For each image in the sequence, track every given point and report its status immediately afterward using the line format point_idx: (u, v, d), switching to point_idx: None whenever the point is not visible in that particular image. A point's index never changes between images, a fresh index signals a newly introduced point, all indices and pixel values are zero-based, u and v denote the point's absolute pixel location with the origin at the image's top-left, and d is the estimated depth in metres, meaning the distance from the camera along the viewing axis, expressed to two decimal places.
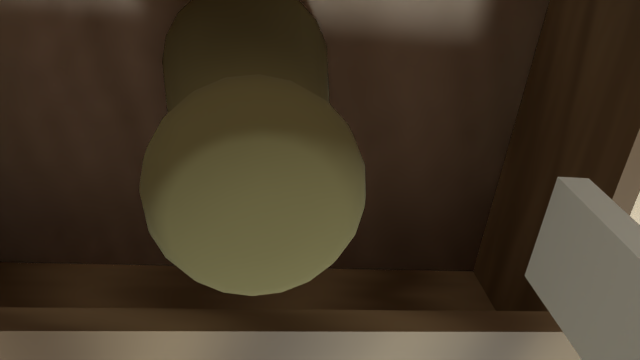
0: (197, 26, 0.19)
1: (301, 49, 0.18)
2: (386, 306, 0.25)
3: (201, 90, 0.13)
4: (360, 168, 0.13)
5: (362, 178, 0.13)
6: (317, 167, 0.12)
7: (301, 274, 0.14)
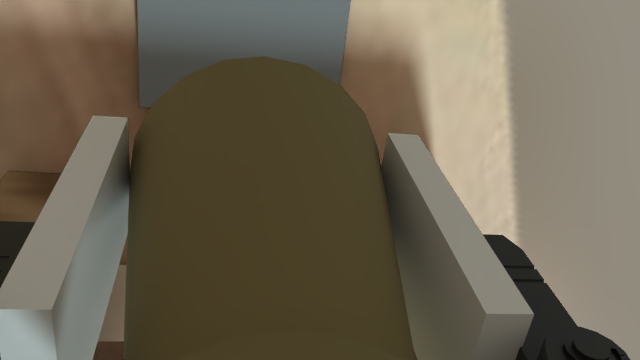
0: (178, 146, 0.11)
1: (356, 197, 0.10)
2: None
3: None
4: None
5: None
6: None
7: None
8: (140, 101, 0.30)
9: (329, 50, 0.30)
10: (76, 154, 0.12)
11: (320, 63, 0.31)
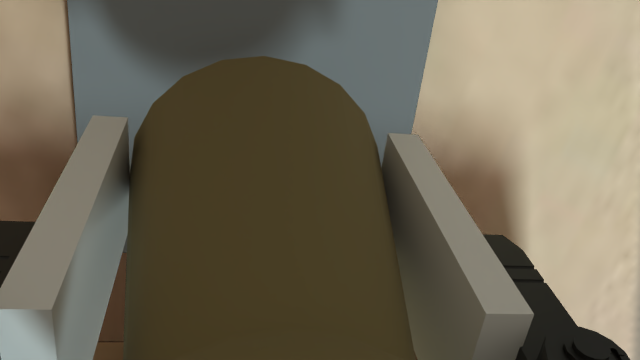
0: (178, 145, 0.11)
1: (356, 197, 0.10)
2: None
3: None
4: None
5: None
6: None
7: None
8: None
9: None
10: (76, 154, 0.12)
11: None
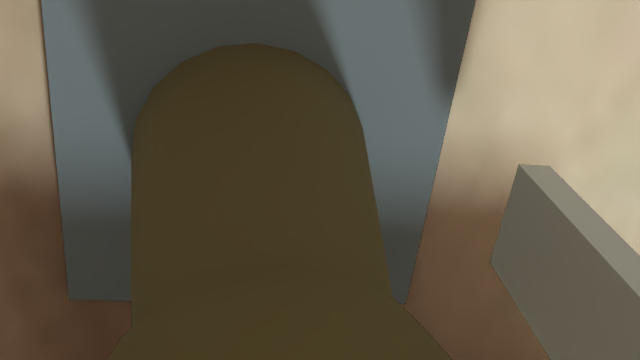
0: (178, 123, 0.12)
1: (341, 166, 0.11)
2: None
3: (177, 321, 0.07)
4: None
5: None
6: None
7: None
8: (70, 291, 0.17)
9: (404, 201, 0.17)
10: None
11: (388, 222, 0.17)
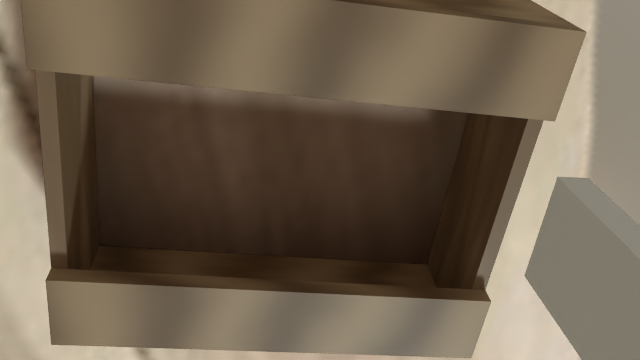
0: None
1: None
2: None
3: None
4: None
5: None
6: None
7: None
8: None
9: None
10: None
11: None
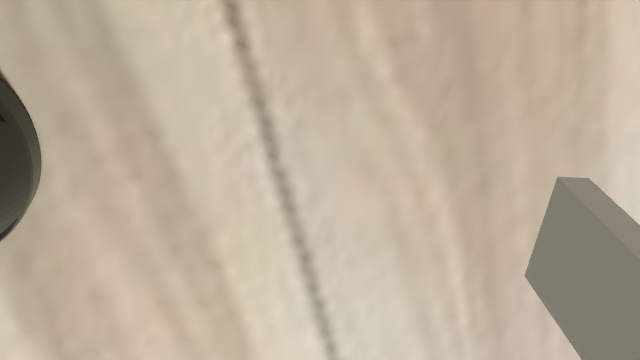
0: None
1: None
2: None
3: None
4: None
5: None
6: None
7: None
8: None
9: None
10: None
11: None
